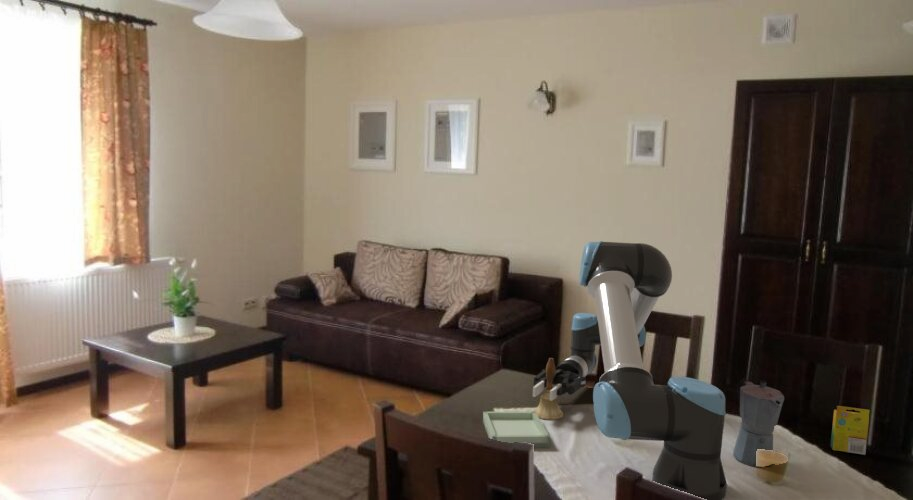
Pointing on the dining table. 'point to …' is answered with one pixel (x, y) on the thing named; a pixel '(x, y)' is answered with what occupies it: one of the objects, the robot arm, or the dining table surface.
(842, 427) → the crayon box
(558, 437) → the dining table surface
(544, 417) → the hand bell
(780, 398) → the moka pot
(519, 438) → the tray
